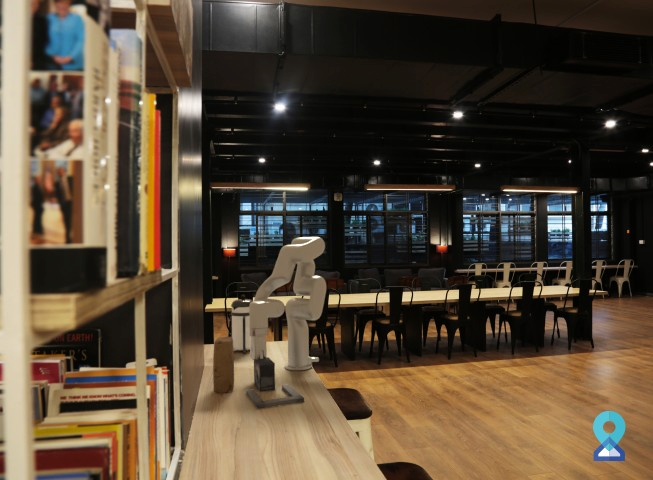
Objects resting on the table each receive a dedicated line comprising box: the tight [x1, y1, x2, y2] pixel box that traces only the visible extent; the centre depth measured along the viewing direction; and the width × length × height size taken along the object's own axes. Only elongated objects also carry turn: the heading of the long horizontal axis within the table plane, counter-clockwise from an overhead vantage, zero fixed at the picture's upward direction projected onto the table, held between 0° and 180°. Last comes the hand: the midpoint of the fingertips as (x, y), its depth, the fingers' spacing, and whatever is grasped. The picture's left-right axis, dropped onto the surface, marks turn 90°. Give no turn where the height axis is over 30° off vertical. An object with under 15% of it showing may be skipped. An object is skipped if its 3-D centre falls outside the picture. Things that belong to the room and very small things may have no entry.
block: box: [212, 336, 235, 394], centre depth 174 cm, size 11×8×20 cm
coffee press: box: [230, 294, 254, 355], centre depth 242 cm, size 17×16×30 cm
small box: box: [253, 356, 276, 393], centre depth 176 cm, size 11×6×10 cm, turn 22°
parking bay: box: [245, 384, 305, 410], centre depth 164 cm, size 17×17×2 cm
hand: (259, 376), depth 184 cm, fingers closed
